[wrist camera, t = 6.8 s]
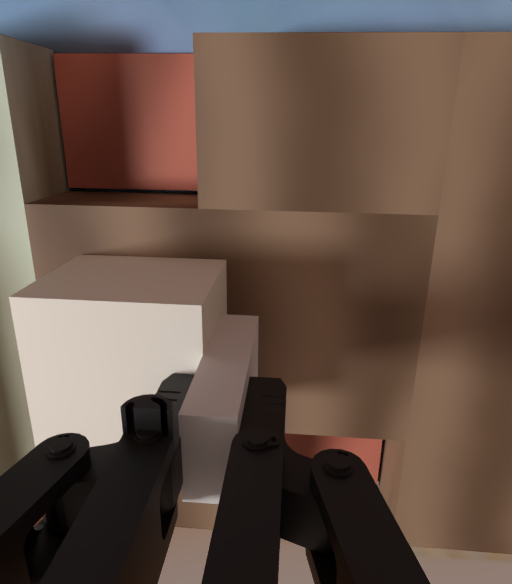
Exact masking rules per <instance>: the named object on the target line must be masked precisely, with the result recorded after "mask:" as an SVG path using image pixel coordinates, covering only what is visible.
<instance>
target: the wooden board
mask: <svg viewBox="0 0 512 584" xmlns="http://www.w3.org/2000/svg"><path fill="white" fill-rule="evenodd" d="M193 50H194V54H150V53H54V51H53V50H52V49H49V48H45V47H42V46H39V45H35V44H32V43H28V42H25V41H22V40H18V39H15V38H12V37H8V36H5V35H2V34H0V476H1V475H2V474H4V473H5V472H6V471H7V470H8V469H10V468H11V467H12V466H13V465H14V464H16V463H17V462H18V461H19V460H20V459H22V458H23V457H24V456H25V455H26V454H28V453H29V452H30V451H31V450H32V449H34V448H35V443H34V437H33V432H32V426H31V420H30V415H29V409H28V403H27V398H26V392H25V386H24V381H23V375H22V369H21V364H20V358H19V352H18V347H17V341H16V335H15V330H14V324H13V318H12V313H11V307H10V301H9V297H10V296H11V295H13V294H15V293H16V292H18V291H20V290H21V289H23V288H25V287H26V286H28V285H30V284H31V283H33V282H35V281H36V280H38V279H40V278H41V277H43V276H45V275H47V274H48V273H50V272H52V271H53V270H55V269H57V268H58V267H60V266H62V265H63V264H65V263H67V262H68V261H70V260H72V259H73V258H75V257H77V256H78V255H80V254H82V255H109V256H136V257H164V258H191V259H218V260H226V271H227V315H250V316H259V330H258V377H270V378H281V379H282V381H283V382H284V384H285V385H286V387H287V391H286V416H285V441H286V443H287V444H288V446H289V447H290V448H291V449H292V450H294V451H295V452H297V453H298V454H301V455H303V456H306V457H309V458H312V459H313V457H314V455H316V454H317V453H319V452H320V451H322V450H327V449H342V450H346V451H349V452H352V453H353V454H355V455H357V456H358V457H360V458H361V460H362V461H363V462H364V463H365V464H366V466H367V468H368V470H369V472H370V474H371V475H372V477H373V479H374V481H375V483H376V485H377V481H378V473H379V464H380V456H381V448H382V440H384V445H383V453H382V461H381V469H380V477H379V490H380V492H381V494H382V496H383V497H384V499H385V501H386V503H387V505H388V507H389V509H390V510H391V512H392V514H393V516H394V518H395V520H396V521H397V523H398V525H399V527H400V529H401V531H402V532H403V534H404V536H405V538H406V540H407V542H408V543H409V545H410V546H417V547H429V548H441V549H454V550H466V551H478V552H490V553H503V554H512V32H294V33H193ZM70 188H104V189H145V190H186V191H198V194H192V193H152V192H111V191H71V190H70ZM177 501H178V518H177V521H176V524H175V527H185V528H197V529H209V530H213V528H214V523H215V518H216V514H217V509H218V504H209V503H196V502H183V501H182V487H181V490H180V494H179V497H178V500H177Z"/></svg>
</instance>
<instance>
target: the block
mask: <svg viewBox="0 0 512 584" xmlns="http://www.w3.org/2000/svg"><path fill="white" fill-rule="evenodd" d="M9 301H10V307H11V313H12V318H13V324H14V330H15V335H16V341H17V347H18V352H19V358H20V364H21V369H22V375H23V381H24V386H25V392H26V398H27V403H28V409H29V415H30V420H31V426H32V432H33V437H34V443H35V447H36V446H37V445H38V444H40V443H41V442H43V441H44V440H46V439H47V438H50V437H52V436H55V435H58V434H64V433H78V434H81V435H83V436H85V437H86V438H87V439H88V441H89V444H90V447H94V446H101V445H107V444H112V443H116V442H119V440H120V439H121V437H122V435H123V429H122V419H121V409H120V407H121V406H122V405H123V404H124V403H125V402H126V401H127V400H129V399H131V398H133V397H136V396H140V395H146V394H156V392H157V390H158V388H159V387H160V385H161V383H162V381H163V380H165V379H166V378H167V377H169V376H170V375H171V374H173V373H176V374H194V375H195V373H196V370H197V368H198V365H199V363H200V360H201V358H202V356H203V354H204V352H205V349H206V347H207V345H208V342H209V340H210V337H211V335H212V333H213V330H214V328H215V325H216V323H217V321H218V318H219V316H220V314H227V271H226V260H218V259H191V258H164V257H136V256H109V255H82V254H80V255H78V256H77V257H75V258H73V259H72V260H70V261H68V262H67V263H65V264H63V265H62V266H60V267H58V268H57V269H55V270H53V271H52V272H50V273H48V274H47V275H45V276H43V277H41V278H40V279H38V280H36V281H35V282H33V283H31V284H30V285H28V286H26V287H25V288H23V289H21V290H20V291H18V292H16V293H15V294H13V295H11V296H10V297H9Z"/></svg>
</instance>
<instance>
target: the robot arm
mask: <svg viewBox="0 0 512 584" xmlns="http://www.w3.org/2000/svg"><path fill="white" fill-rule="evenodd" d="M258 330H259V316H250V315H227V314H220V316H219V318H218V321H217V323H216V325H215V328H214V330H213V333H212V335H211V337H210V340H209V342H208V345H207V347H206V349H205V352H204V354H203V356H202V358H201V360H200V363H199V365H198V368H197V370H196V373H195V375H194V374H176V373H173V374H171V375H170V376H169V377H167V378H166V379H165V380H163V381H162V383H161V385H160V387H159V388H158V390H157V392H156V394H146V395H140V396H136V397H133V398H131V399H129V400H127V401H126V402H125V403H124V404H123V405H122V406H121V407H120V409H121V419H122V429H123V435H122V437H121V439H120V440H119V442H116V443H112V444H107V445H101V446H94V447H90V444H89V441H88V439H87V438H86V437H85V436H83V435H81V434H78V433H64V434H58V435H55V436H52V437H50V438H47V439H46V440H44V441H43V442H41V443H40V444H38V445H37V446H36V447H35V448H34V449H32V450H31V451H30V452H29V453H28V454H26V455H25V456H24V457H23V458H22V459H20V460H19V461H18V462H17V463H16V464H14V465H13V466H12V467H11V468H10V469H8V470H7V471H6V472H5V473H4V474H2V475H1V476H0V584H157V583H158V580H159V577H160V574H161V570H162V567H163V564H164V560H165V557H166V554H167V550H168V547H169V544H170V541H171V537H172V534H173V530H174V527H175V524H176V521H177V518H178V501H177V500H178V497H179V494H180V490H181V487H182V501H183V502H196V503H209V504H218V509H217V514H216V518H215V523H214V528H213V532H212V537H211V542H210V547H209V551H208V556H207V560H206V565H205V570H204V574H203V579H202V584H278V572H279V549H280V538H282V539H284V540H287V541H290V542H292V543H295V544H297V545H300V546H303V547H305V548H306V556H307V560H308V563H309V566H310V570H311V573H312V577H313V580H314V583H315V584H430V582H429V580H428V579H427V577H426V575H425V573H424V571H423V570H422V568H421V566H420V564H419V562H418V560H417V558H416V556H415V555H414V553H413V551H412V549H411V547H410V545H409V543H408V542H407V540H406V538H405V536H404V534H403V532H402V531H401V529H400V527H399V525H398V523H397V521H396V520H395V518H394V516H393V514H392V512H391V510H390V509H389V507H388V505H387V503H386V501H385V499H384V497H383V496H382V494H381V492H380V490H379V488H378V486H377V485H376V483H375V481H374V479H373V477H372V475H371V474H370V472H369V470H368V468H367V466H366V464H365V463H364V462H363V461H362V460H361V458H360V457H358V456H357V455H355V454H353V453H352V452H349V451H346V450H342V449H327V450H322V451H320V452H319V453H317V454H316V455H314V457H313V459H312V458H309V457H306V456H303V455H301V454H298V453H297V452H295V451H294V450H292V449H291V448H290V447H289V446H288V444H287V443H286V441H285V416H286V391H287V387H286V385H285V384H284V382H283V381H282V379H281V378H270V377H258ZM42 516H43V519H42V520H41V522H39V523H38V524H37V525H36V526H34V525H35V523H37V521H39V519H40V518H41V517H42ZM33 526H34V527H33Z"/></svg>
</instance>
